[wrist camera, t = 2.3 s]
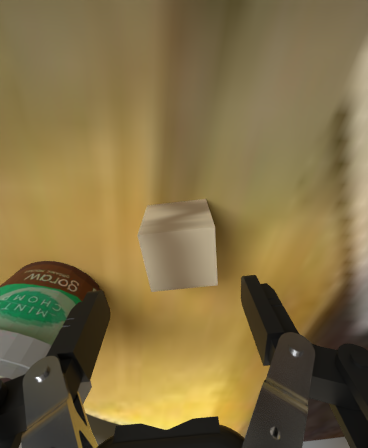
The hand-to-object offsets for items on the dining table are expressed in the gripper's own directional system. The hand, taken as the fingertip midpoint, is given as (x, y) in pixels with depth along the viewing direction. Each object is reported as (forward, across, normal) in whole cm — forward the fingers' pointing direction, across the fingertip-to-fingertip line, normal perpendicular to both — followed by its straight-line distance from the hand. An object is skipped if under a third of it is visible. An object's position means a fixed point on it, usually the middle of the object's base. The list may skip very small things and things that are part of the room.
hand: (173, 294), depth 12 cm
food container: (+8, +12, +4) cm, 15 cm away
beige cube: (+8, -1, 0) cm, 8 cm away
